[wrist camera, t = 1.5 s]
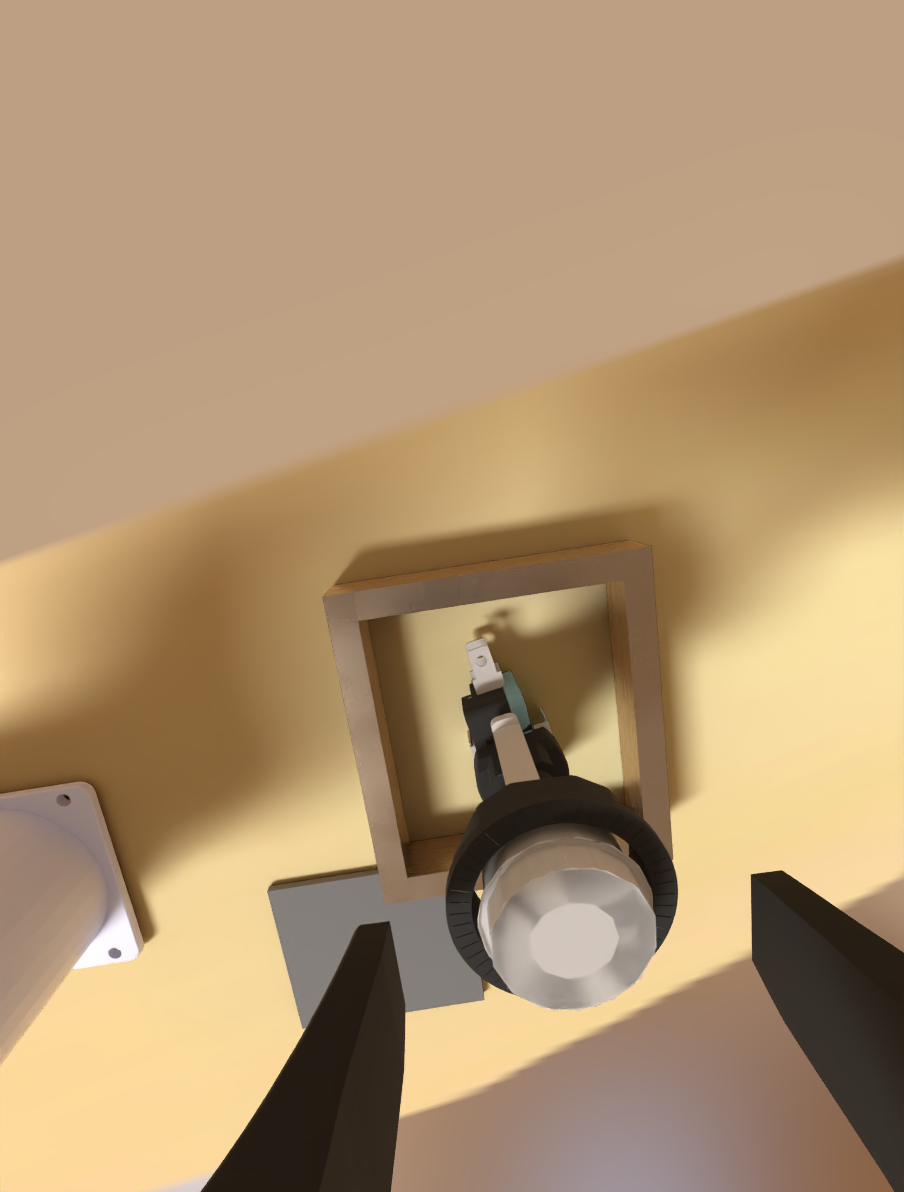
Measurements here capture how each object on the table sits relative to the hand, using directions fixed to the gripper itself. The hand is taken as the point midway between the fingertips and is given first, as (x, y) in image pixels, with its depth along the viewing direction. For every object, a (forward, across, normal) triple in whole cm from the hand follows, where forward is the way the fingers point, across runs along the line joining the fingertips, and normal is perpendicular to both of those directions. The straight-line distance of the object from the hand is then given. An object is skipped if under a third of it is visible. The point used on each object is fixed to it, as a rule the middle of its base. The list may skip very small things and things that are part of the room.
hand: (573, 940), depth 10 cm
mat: (+10, +7, +10) cm, 16 cm away
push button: (+11, 0, 0) cm, 11 cm away
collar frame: (+10, 0, 0) cm, 11 cm away
